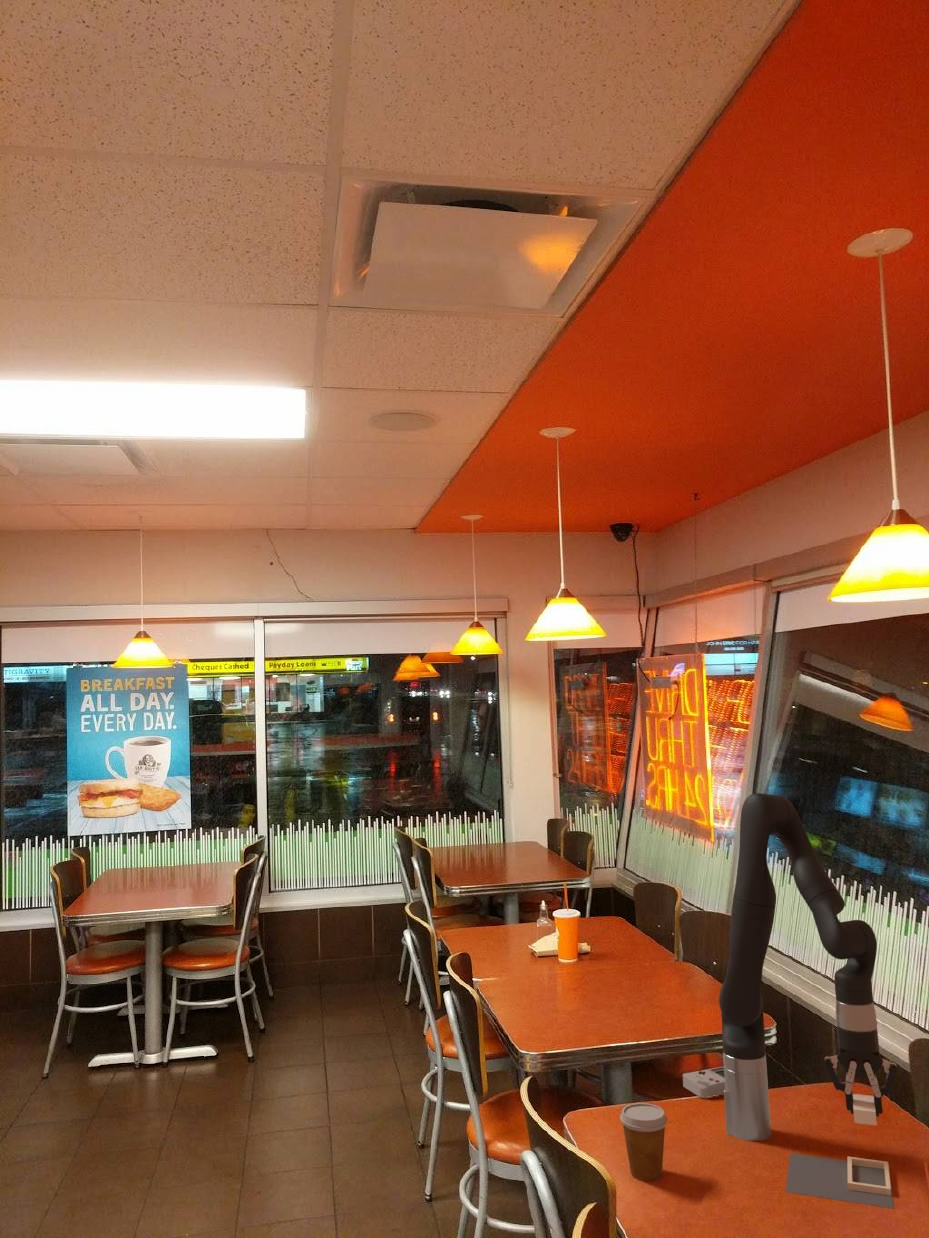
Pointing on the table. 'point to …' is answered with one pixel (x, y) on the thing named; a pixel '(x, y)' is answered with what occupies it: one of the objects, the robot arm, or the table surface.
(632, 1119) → the disposable coffee cup
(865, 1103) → the tile
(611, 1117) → the table surface
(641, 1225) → the table surface
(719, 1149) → the table surface
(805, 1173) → the mat
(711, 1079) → the handheld gaming device
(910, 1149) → the table surface
